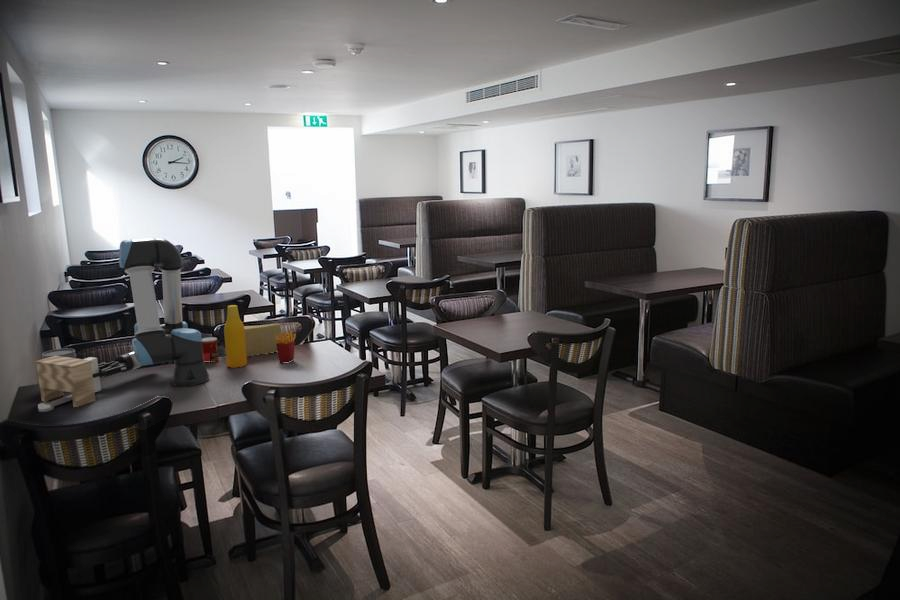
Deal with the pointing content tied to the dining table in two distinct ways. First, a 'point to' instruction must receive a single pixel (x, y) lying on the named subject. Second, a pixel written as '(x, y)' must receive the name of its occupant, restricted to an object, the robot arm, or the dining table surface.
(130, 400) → the dining table surface
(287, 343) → the french fries
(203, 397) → the dining table surface
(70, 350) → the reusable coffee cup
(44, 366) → the wooden bridge
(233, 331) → the beer bottle
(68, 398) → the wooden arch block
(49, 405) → the steel token
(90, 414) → the dining table surface
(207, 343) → the red drink glass
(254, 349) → the cheese
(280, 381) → the dining table surface
